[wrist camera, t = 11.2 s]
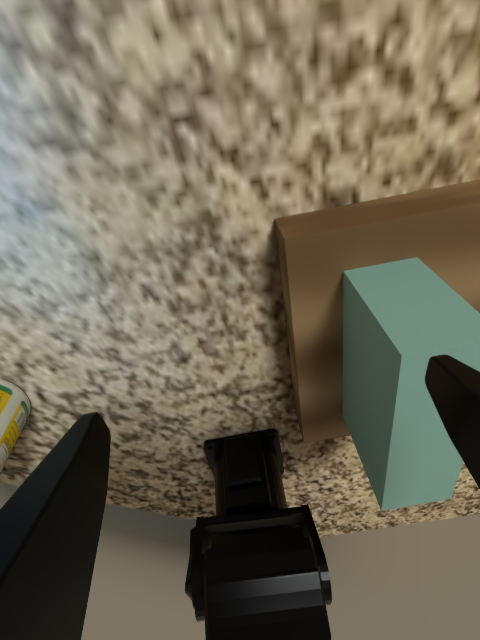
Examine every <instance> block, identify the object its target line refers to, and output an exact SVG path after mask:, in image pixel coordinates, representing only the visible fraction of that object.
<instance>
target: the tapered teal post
mask: <svg viewBox="0 0 480 640" xmlns="http://www.w3.org/2000/svg"><path fill="white" fill-rule="evenodd" d="M443 354H446V355H449V356H451V357H453V358H455V359H457V360H459V361H461V362H462V363H464V364H466V365H468V366H470V367H472V368H474V369H475V370H477V371H479V372H480V313H479V312H478V311H477V310H475V309H474V308H473V307H472V306H471V305H470V304H469V303H468V302H466V301H465V300H464V299H463V298H462V297H461V296H460V295H459V294H458V293H456V292H455V291H454V290H453V289H452V288H451V287H450V286H449V285H447V284H446V283H445V282H444V281H443V280H442V279H441V278H440V277H439V276H437V275H436V274H435V273H434V272H433V271H432V270H431V269H430V268H429V267H427V266H426V265H425V264H424V263H423V262H422V261H421V260H420V259H418V258H417V257H416V258H410V259H405V260H400V261H394V262H389V263H384V264H378V265H373V266H368V267H362V268H357V269H351V270H346V271H343V417H344V420H345V422H346V425H347V427H348V429H349V432H350V434H351V437H352V439H353V442H354V444H355V447H356V449H357V452H358V454H359V457H360V459H361V462H362V464H363V467H364V469H365V471H366V474H367V476H368V479H369V481H370V484H371V486H372V489H373V491H374V494H375V496H376V499H377V501H378V504H379V506H380V509H381V511H383V510H389V509H395V508H400V507H406V506H412V505H418V504H424V503H429V502H435V501H441V500H447V499H451V497H452V494H453V491H454V488H455V485H456V482H457V479H458V476H459V473H460V470H461V467H462V464H463V462H464V461H463V460H462V458H461V456H460V455H459V453H458V451H457V450H456V448H455V446H454V445H453V443H452V441H451V439H450V437H449V435H448V433H447V431H446V429H445V427H444V425H443V423H442V420H441V418H440V416H439V414H438V412H437V409H436V407H435V405H434V403H433V401H432V398H431V396H430V394H429V392H428V390H427V387H426V384H425V374H426V370H427V365H428V361H429V359H430V357H432V356H437V355H443Z"/></svg>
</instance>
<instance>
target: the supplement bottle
mask: <svg viewBox="0 0 480 640" xmlns="http://www.w3.org/2000/svg"><path fill="white" fill-rule="evenodd" d="M29 414H30V402H29V399H28V397H27V396H26V394H25V393H24V392H23V391H22V390H21V389H20V388H19V387H17V386H16V385H14V384H12V383H11V382H8V381H6V380H3V379H0V473H1V471H2V469H3V467H4V465H5V463H6V461H7V459H8V457H9V455H10V453H11V450H12V449H13V447H14V445H15V443H16V441H17V439H18V437H19V435H20V433H21V431H22V429H23V427H24V425H25V423H26V421H27V418H28V416H29Z"/></svg>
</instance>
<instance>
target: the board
mask: <svg viewBox="0 0 480 640" xmlns="http://www.w3.org/2000/svg"><path fill="white" fill-rule="evenodd" d="M275 227H276V236H277V245H278V254H279V263H280V273H281V282H282V291H283V300H284V310H285V319H286V328H287V337H288V346H289V356H290V365H291V374H292V383H293V392H294V402H295V411H296V416H297V419H298V423H299V427H300V430H301V434H302V438H303V441H304V443H309V442H314V441H320V440H326V439H331V438H337V437H343V436H348V435H351V434H350V432H349V429H348V427H347V425H346V422H345V420H344V417H343V271H346V270H351V269H357V268H362V267H368V266H373V265H378V264H384V263H389V262H394V261H400V260H405V259H410V258H416V257H417V258H418V259H420V260H421V261H422V262H423V263H424V264H425V265H426V266H427V267H429V268H430V269H431V270H432V271H433V272H434V273H435V274H436V275H437V276H439V277H440V278H441V279H442V280H443V281H444V282H445V283H446V284H447V285H449V286H450V287H451V288H452V289H453V290H454V291H455V292H456V293H458V294H459V295H460V296H461V297H462V298H463V299H464V300H465V301H466V302H468V303H469V304H470V305H471V306H472V307H473V308H474V309H475V310H477V311H478V312H479V313H480V180H477V181H471V182H466V183H461V184H456V185H450V186H445V187H440V188H434V189H429V190H424V191H419V192H413V193H408V194H403V195H398V196H392V197H387V198H382V199H377V200H371V201H366V202H361V203H356V204H350V205H345V206H340V207H334V208H329V209H324V210H319V211H313V212H308V213H303V214H298V215H292V216H287V217H282V218H277V219H275Z"/></svg>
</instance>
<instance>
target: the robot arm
mask: <svg viewBox="0 0 480 640" xmlns="http://www.w3.org/2000/svg"><path fill="white" fill-rule="evenodd" d="M425 384H426V387H427V390H428V392H429V394H430V396H431V398H432V401H433V403H434V405H435V407H436V409H437V412H438V414H439V416H440V418H441V420H442V423H443V425H444V427H445V429H446V431H447V433H448V435H449V437H450V439H451V441H452V443H453V445H454V446H455V448H456V450H457V451H458V453H459V455H460V456H461V458H462V460H463V461H464V463H465V465H466V467H467V468H468V470H469V472H470V473H471V475H472V477H473V478H474V480H475V482H476V483H477V485H478V487H479V488H480V372H479V371H477V370H475V369H474V368H472V367H470V366H468V365H466V364H464V363H462V362H461V361H459V360H457V359H455V358H453V357H451V356H449V355H446V354H443V355H437V356H432V357H430V359H429V361H428V365H427V370H426V374H425ZM110 443H111V435H110V431H109V428H108V427H107V425H106V423H105V421H104V420H103V418H102V416H101V415H100V413H98V412H93V413H87V414H83V415H82V416H81V417H80V418H79V419H78V420H77V421H76V422H75V423H74V425H73V426H72V427H71V428H70V429H69V430H68V432H67V433H66V434H65V435H64V436H63V437H62V438H61V440H60V441H59V442H58V443H57V444H56V445H55V447H54V448H53V449H52V450H51V451H50V452H49V454H48V455H47V456H46V457H45V458H44V459H43V460H42V462H41V463H40V464H39V465H38V466H37V467H36V469H35V470H34V471H33V472H32V473H31V474H30V475H29V477H28V478H27V479H26V480H25V481H24V482H23V484H22V485H21V486H20V487H19V488H18V489H17V491H16V492H15V493H14V494H13V495H12V496H11V497H10V499H9V500H8V501H7V502H6V503H5V505H4V506H3V507H2V508H1V509H0V640H81V636H82V630H83V625H84V619H85V614H86V608H87V602H88V597H89V591H90V586H91V580H92V574H93V569H94V563H95V558H96V552H97V547H98V541H99V536H100V530H101V524H102V519H103V513H104V507H105V502H106V496H107V487H108V473H109V458H110ZM204 450H205V453H206V456H207V458H208V461H209V464H210V466H211V469H212V472H213V475H214V477H215V497H216V516H213V517H204V516H202V517H197V521H196V527H194V528H193V529H191V531H190V533H191V535H190V556H189V563H188V570H187V577H186V582H185V593H186V594H187V595H188V596H189V598H190V599H191V600H192V602H193V608H195V615H196V620H197V621H198V622H199V621H205V633H206V640H331V632H330V627H329V622H328V616H327V610H326V605H330V604H331V602H332V592H331V584H330V577H329V571H328V567H327V562H326V558H325V554H324V551H323V548H322V545H321V542H320V539H319V536H318V533H317V530H316V527H315V524H314V521H313V518H312V515H311V512H310V509H309V506H308V505H301V507H292V508H287V503H286V498H285V493H284V487H283V482H282V477H281V474H283V473H284V467H283V460H282V454H281V448H280V442H279V435H278V431H277V430H276V429H268V430H262V431H257V432H251V433H246V434H240V435H234V436H229V437H223V438H218V439H212V440H207V441H205V442H204Z"/></svg>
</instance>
